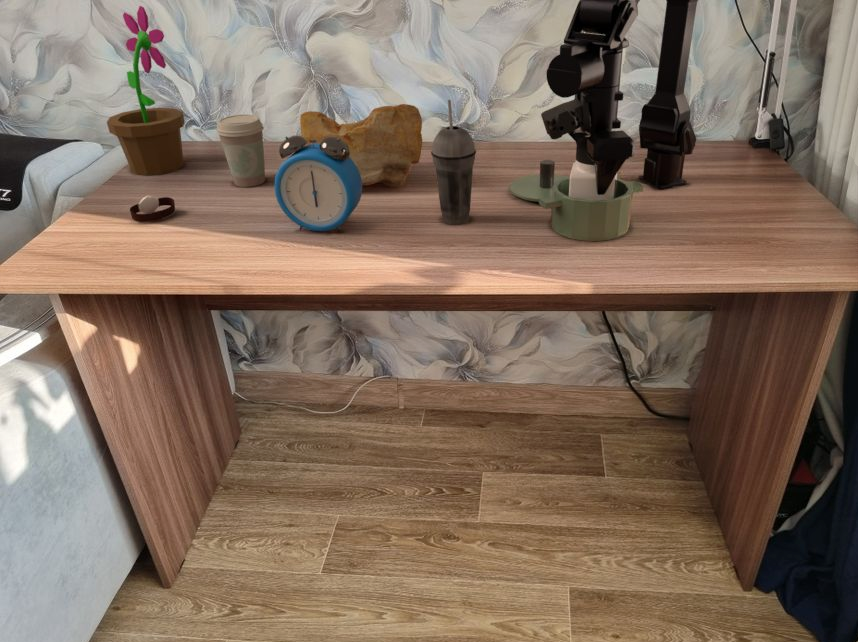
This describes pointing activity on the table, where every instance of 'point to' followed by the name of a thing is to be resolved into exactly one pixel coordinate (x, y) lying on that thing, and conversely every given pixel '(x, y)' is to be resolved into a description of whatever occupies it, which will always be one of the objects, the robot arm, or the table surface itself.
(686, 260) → the table surface
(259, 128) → the coffee cup
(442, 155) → the beverage cup
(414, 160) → the rough brown rock
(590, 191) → the medicine bottle
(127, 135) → the flowerpot
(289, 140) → the alarm clock
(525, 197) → the lid
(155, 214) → the watch
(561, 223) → the cooking pot
